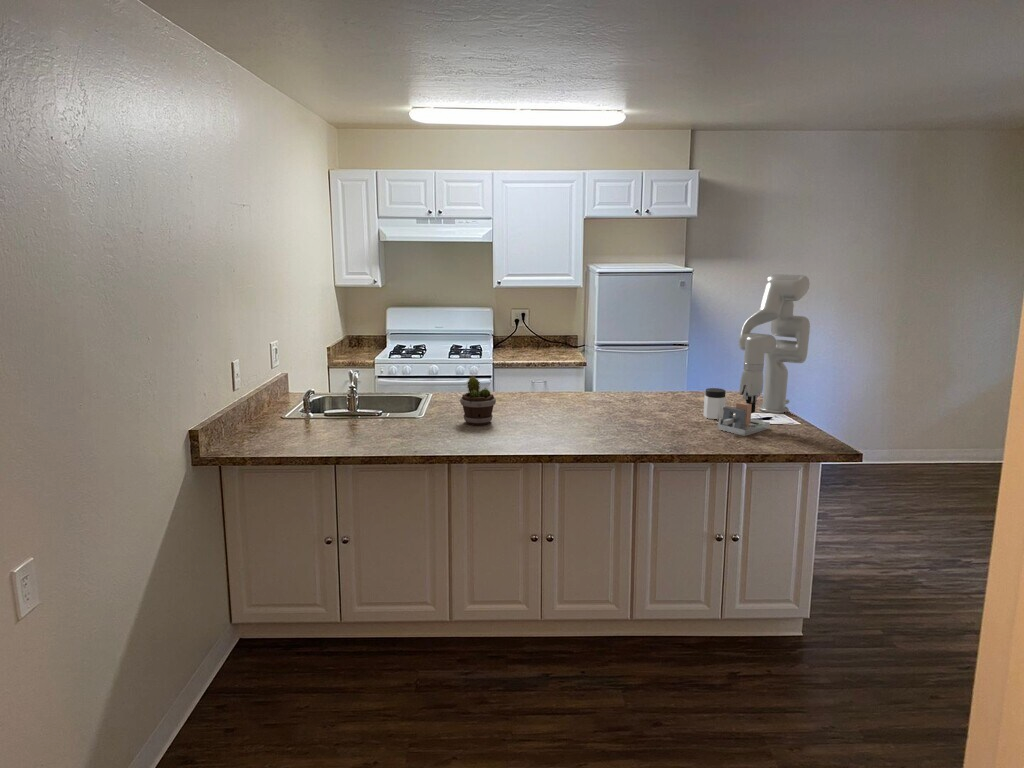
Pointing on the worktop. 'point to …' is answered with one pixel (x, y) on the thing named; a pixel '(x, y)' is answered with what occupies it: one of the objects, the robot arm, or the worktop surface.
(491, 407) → the flowerpot
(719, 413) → the jar
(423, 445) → the worktop surface
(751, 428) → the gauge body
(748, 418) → the plunger
